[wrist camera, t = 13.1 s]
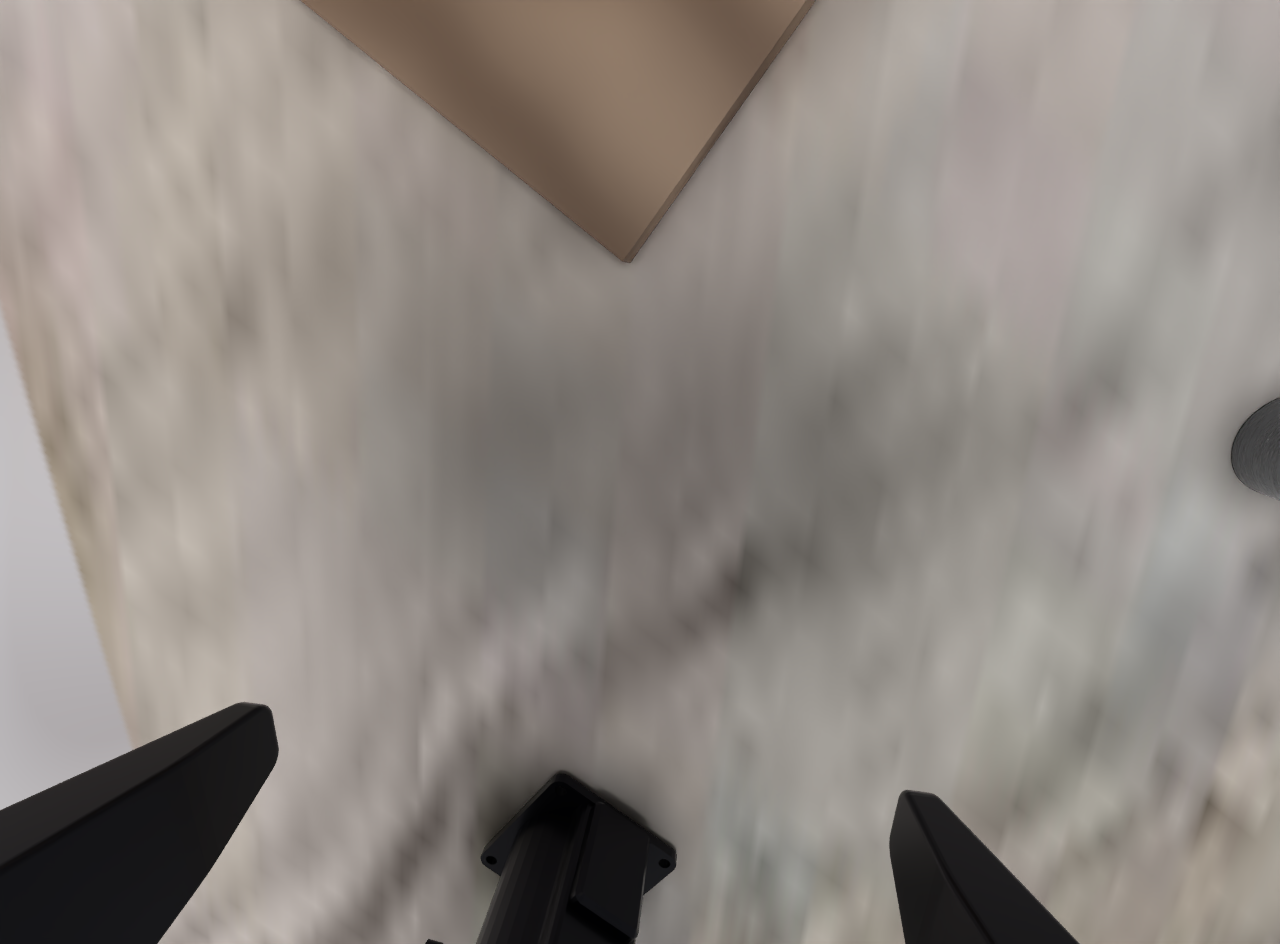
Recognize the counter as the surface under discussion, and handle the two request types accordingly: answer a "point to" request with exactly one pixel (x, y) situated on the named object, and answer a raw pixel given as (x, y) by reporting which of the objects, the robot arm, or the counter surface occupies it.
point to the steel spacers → (1260, 451)
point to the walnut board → (581, 88)
